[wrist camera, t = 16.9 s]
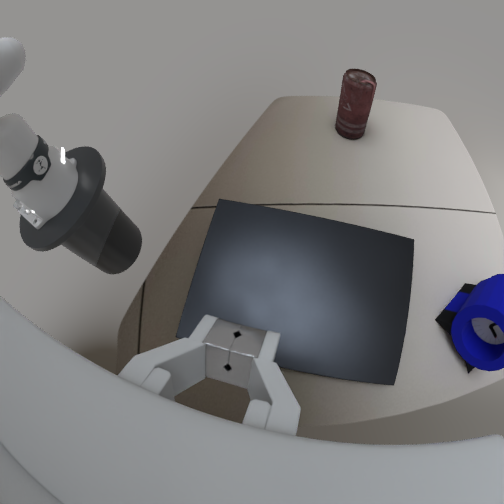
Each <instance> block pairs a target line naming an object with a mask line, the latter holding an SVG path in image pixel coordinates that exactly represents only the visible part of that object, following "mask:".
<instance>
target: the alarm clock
mask: <svg viewBox="0 0 504 504" xmlns="http://www.w3.org/2000/svg"><path fill="white" fill-rule="evenodd" d="M435 320H436V321H437V322H438V323H439V324H440V325H441V326H442V327H443V328H444V329H445V330H447V331H448V332H449V333H450V334H451V335H452V341H453V343H454V345H455V348H456V350H457V351H458V353H459V354H460V355H461V357H462V358H463V359H464V360H465V361H466V363H467V368H468V374H469V372H470V371H471V370H472V369H473V368H474V367H476V368H478V369H481V370H486V371H496V370H500V369H502V368H504V274H497V275H495V276H492V277H491V278H488V279H486V280H483V281H481V282H479V283H478V284H477V285H473V284H466V283H465V284H464V286H463V287H462V288H461V289H460V291H459V292H458V293H457V294H456V296H455V297H454V298H453V299H452V301H451V302H450V303H449V304H448V305H447V307H446V308H445V309H444V310H443V311H442V312H441V313H440V315H439V316H438V317H437V318H436V319H435Z"/></svg>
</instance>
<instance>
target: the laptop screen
mask: <svg viewBox="0 0 504 504" xmlns="http://www.w3.org/2000/svg"><path fill="white" fill-rule="evenodd" d="M413 256H414V239H410V238H406V237H402V236H399V235H395V234H391V233H386V232H382V231H378V230H374V229H370V228H366V227H361V226H357V225H353V224H348V223H344V222H339V221H335V220H330V219H325V218H320V217H316V216H311V215H306V214H301V213H296V212H291V211H286V210H280V209H275V208H270V207H264V206H259V205H253V204H247V203H242V202H236V201H230V200H223V199H219V201H218V204H217V206H216V209H215V212H214V215H213V218H212V221H211V224H210V227H209V230H208V233H207V236H206V239H205V242H204V245H203V248H202V251H201V254H200V257H199V260H198V263H197V267H196V270H195V273H194V276H193V279H192V283H191V286H190V289H189V293H188V296H187V299H186V303H185V306H184V309H183V313H182V316H181V320H180V323H179V327H178V330H177V334H176V337H177V338H180V339H182V338H189V337H190V335H191V334H192V333H193V331H194V330H195V328H196V327H197V325H198V324H199V323H200V321H201V320H202V318H203V317H204V316H205V315H211V316H214V317H217V318H221V319H225V320H228V321H232V322H235V323H239V324H242V325H246V326H250V327H254V328H258V329H262V330H267V331H273V332H278V333H280V339H279V343H278V347H277V351H276V355H275V359H274V362H275V363H277V365H278V366H279V367H282V368H286V369H291V370H296V371H300V372H305V373H311V374H316V375H321V376H327V377H333V378H339V379H345V380H352V381H359V382H367V383H375V384H384V385H394V383H395V379H396V375H397V371H398V367H399V362H400V358H401V353H402V348H403V342H404V337H405V331H406V325H407V318H408V311H409V303H410V294H411V284H412V272H413Z"/></svg>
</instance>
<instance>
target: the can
mask: <svg viewBox="0 0 504 504" xmlns="http://www.w3.org/2000/svg"><path fill="white" fill-rule="evenodd" d="M376 85H377V83H376V79H375V77H374V76H373V75H371V74H370V73H368V72H366V71H364V70H360V69H349V70H347V71H346V73H345V74H344V75H343V81H342V87H341V95H340V100H339V107H338V113H337V119H336V124H335V126H336V129H337V131H338V133H339V134H340V135H342V136H343V137H345V138H348V139H358V138H360V137H362V136H363V134H364V131H365V127H366V124H367V120H368V117H369V113H370V109H371V105H372V102H373V98H374V94H375V90H376Z"/></svg>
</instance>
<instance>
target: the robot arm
mask: <svg viewBox="0 0 504 504" xmlns="http://www.w3.org/2000/svg"><path fill="white" fill-rule="evenodd" d="M24 64H25V50H24V47H23V45H22V44H21V43H20V42H19V41H18V40H17V39H15V38H11V37H3V38H0V96H1V95H2V94H3V93H4V92H5V91H6V90H7V89H8V88H9V87H10V85H11V84H12V83H13V82H14V81H15V79H16V78H17V77H18V75H19V74H20V73H21V72H22V70H23V68H24ZM76 164H77V161H76V160H75V159H74V158H71V159H68V158H67V157H66V156H65V150H64V149H63V148H62V152H61V151H60V150H59V149H58V148H57V147H55V146H51V147H48V145H47V144H46V142H45V141H44V140H43V139H42V138H41V137H40V136H39V135H36V134H35V133H34V132H33V130H32V129H31V128H30V127H29V125H28V124H27V123H26V122H25V120H24V119H23V118H22V117H21V116H20V115H18V114H8V115H5V116H3V117H1V118H0V176H1V177H3V180H4V182H5V183H6V185H7V186H8V187H9V188H10V189H11V190H12V196H13V197H14V198H15V199H16V202H15V203H14V207H15V208H16V209H17V211H18V212H19V213H20V214H21V215H22V216H23V217H24V218H25V219H26V220H27V221H29V222H30V223H31V224H32V225H33V226H34V227H35V228H36V229H40V228H41V227H42V226H43V225H44V224H45V223H46V222H47V221H48V220H49V219H51V218H53V217H54V216H56V215H57V214H58V213H59V212H60V211H61V210H62V209H63V208H64V207H65V206H66V204H67V203H68V202H69V200H70V199H71V197H72V195H73V193H74V191H75V189H76V186H77V183H78V172H77V170H76ZM279 339H280V333H278V332H273V331H267V330H262V329H258V328H254V327H250V326H246V325H242V324H239V323H235V322H232V321H228V320H225V319H221V318H217V317H214V316H211V315H205V316H204V317H203V318H202V320H201V321H200V323H199V324H198V325H197V327H196V328H195V330H194V331H193V333H192V334H191V335H190V337H189V338H182V339H179V340H177V341H174V342H171V343H169V344H166V345H163V346H161V347H158V348H155V349H152V350H149V351H147V352H144V353H141V354H138V355H135V356H134V357H133V358H132V359H131V360H130V361H129V363H128V364H127V365H126V366H125V367H124V368H123V370H122V371H121V372H120V373H119V374H118V375H115V374H113V373H111V372H109V371H107V370H106V369H104V368H102V367H100V366H98V365H97V364H95V363H93V362H91V361H90V360H88V359H86V358H85V357H83V356H81V355H80V354H78V353H76V352H75V351H73V350H71V349H70V348H68V347H67V346H65V345H64V344H62V343H60V342H59V341H58V340H56V339H55V338H53V337H52V336H50V335H49V334H47V333H46V332H45V331H43V330H42V329H41V328H39V327H38V326H37V325H35V324H34V323H33V322H31V321H30V320H29V319H27V318H26V317H25V316H24V315H22V314H21V313H20V312H19V311H17V310H16V309H15V308H14V307H12V306H11V305H10V304H9V303H8V302H7V301H6V300H5V299H3V298H2V297H1V296H0V504H504V437H502V436H501V435H499V434H493V435H488V436H483V437H478V438H473V439H466V440H459V441H451V442H442V443H431V444H412V445H375V444H356V443H345V442H334V441H326V440H318V439H311V438H305V437H299V436H296V432H297V427H298V422H299V416H300V410H301V407H300V406H299V404H298V402H297V400H296V398H295V396H294V395H293V393H292V391H291V389H290V387H289V385H288V383H287V382H286V380H285V378H284V376H283V374H282V372H281V370H280V368H279V366H278V365H277V363H275V362H274V359H275V355H276V351H277V347H278V343H279ZM205 377H208V378H212V379H215V380H219V381H223V382H226V383H229V384H233V385H236V386H239V387H242V388H246V389H247V390H248V393H249V397H250V400H251V401H250V403H249V406H248V409H247V411H246V414H245V416H244V419H243V422H242V424H240V423H237V422H233V421H230V420H226V419H223V418H220V417H216V416H213V415H210V414H207V413H204V412H201V411H198V410H196V409H193V408H190V407H187V406H185V405H182V404H179V403H177V402H175V398H174V396H176V395H177V394H179V393H181V392H183V391H184V390H186V389H188V388H189V387H191V386H193V385H194V384H196V383H198V382H199V381H201V380H203V379H204V378H205Z"/></svg>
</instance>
